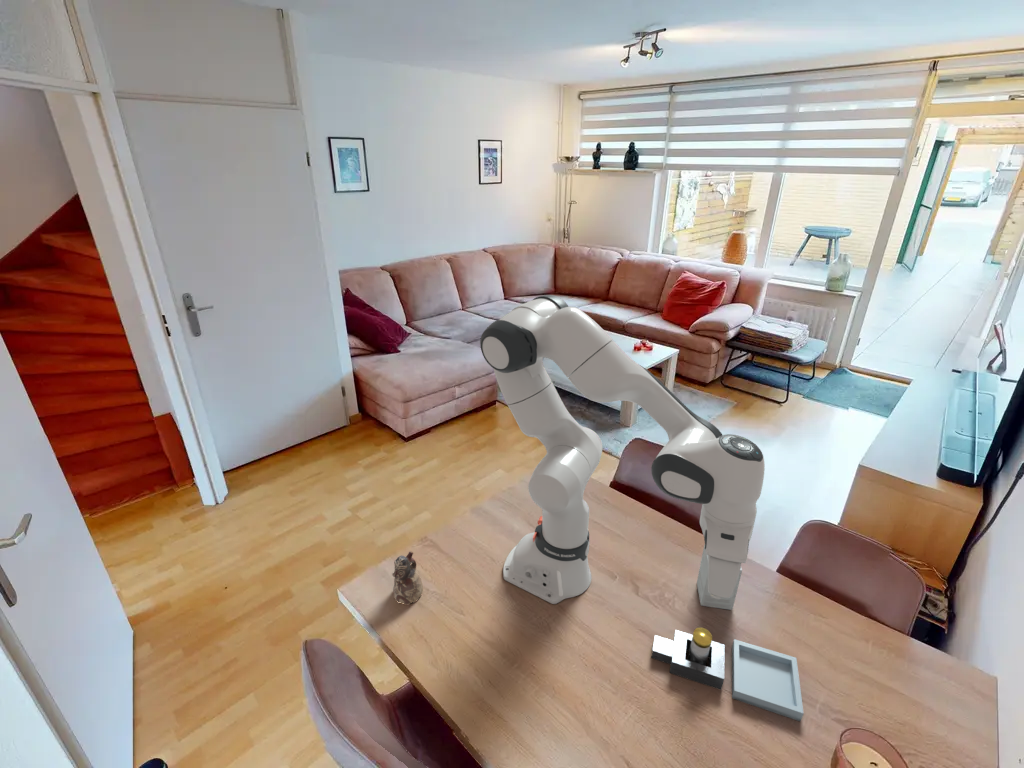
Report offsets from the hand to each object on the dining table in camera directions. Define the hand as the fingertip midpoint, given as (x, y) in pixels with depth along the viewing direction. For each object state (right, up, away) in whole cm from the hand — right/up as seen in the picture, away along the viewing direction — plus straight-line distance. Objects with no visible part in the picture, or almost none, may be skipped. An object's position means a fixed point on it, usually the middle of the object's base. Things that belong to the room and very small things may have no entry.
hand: (715, 576), depth 95 cm
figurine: (-65, -15, +27) cm, 72 cm away
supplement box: (+10, -15, +25) cm, 31 cm away
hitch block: (-2, -22, +10) cm, 24 cm away
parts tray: (+12, -24, +6) cm, 27 cm away
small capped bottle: (0, -22, +10) cm, 24 cm away
